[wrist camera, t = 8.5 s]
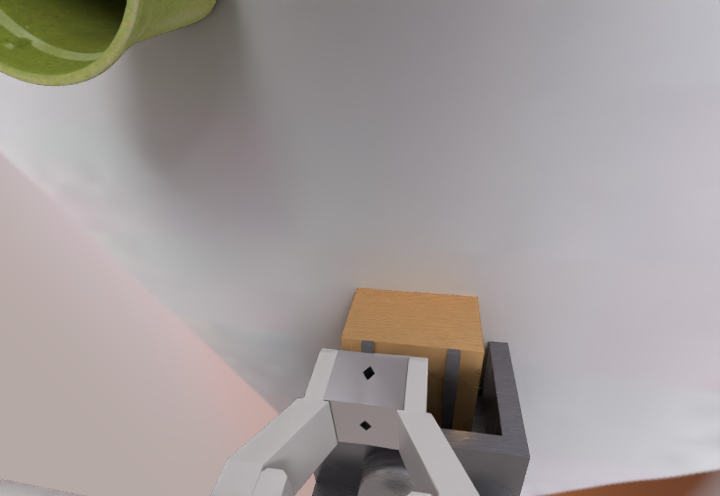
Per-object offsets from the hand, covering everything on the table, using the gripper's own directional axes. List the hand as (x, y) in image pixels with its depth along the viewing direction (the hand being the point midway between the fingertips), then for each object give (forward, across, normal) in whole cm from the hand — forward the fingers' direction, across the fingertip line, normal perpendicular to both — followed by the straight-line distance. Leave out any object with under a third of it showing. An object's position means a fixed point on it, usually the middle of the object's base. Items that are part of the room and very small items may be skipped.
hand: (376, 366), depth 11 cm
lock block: (+12, 0, +12) cm, 18 cm away
